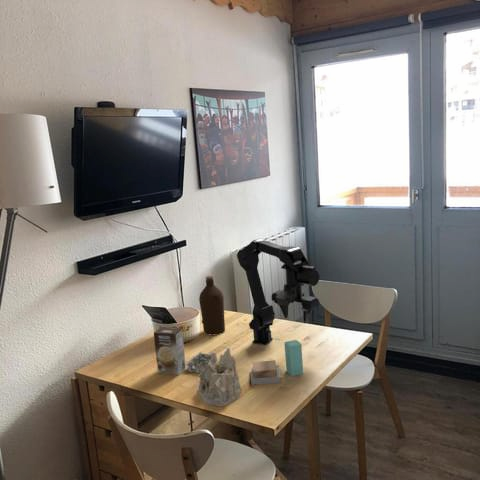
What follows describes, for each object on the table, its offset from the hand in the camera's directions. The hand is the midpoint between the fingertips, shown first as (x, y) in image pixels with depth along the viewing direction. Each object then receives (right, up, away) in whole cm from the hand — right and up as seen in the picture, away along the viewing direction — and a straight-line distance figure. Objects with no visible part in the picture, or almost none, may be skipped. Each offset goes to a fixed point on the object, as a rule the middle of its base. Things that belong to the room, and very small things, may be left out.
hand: (295, 320), depth 201 cm
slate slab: (-12, -18, -15) cm, 27 cm away
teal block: (-2, -16, -14) cm, 21 cm away
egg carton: (-36, -17, -3) cm, 40 cm away
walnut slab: (-12, -16, -16) cm, 26 cm away
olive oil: (-32, -10, +33) cm, 47 cm away
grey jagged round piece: (-29, -21, -25) cm, 43 cm away
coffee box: (-46, -18, -4) cm, 50 cm away
